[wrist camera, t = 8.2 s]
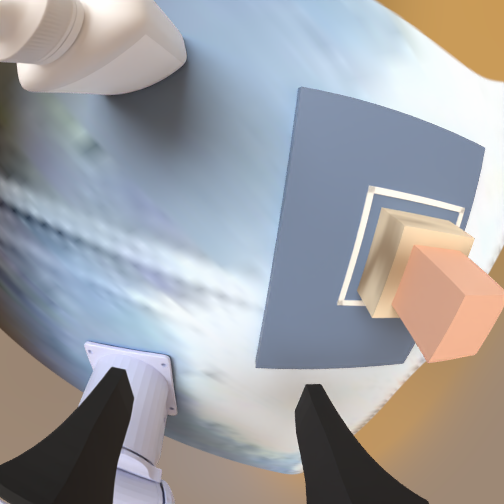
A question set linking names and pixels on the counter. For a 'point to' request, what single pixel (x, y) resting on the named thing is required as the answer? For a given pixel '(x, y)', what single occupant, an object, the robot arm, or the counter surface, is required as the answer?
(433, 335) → the top block
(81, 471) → the robot arm
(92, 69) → the eye dropper bottle
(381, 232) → the base block
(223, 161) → the counter surface
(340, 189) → the board
